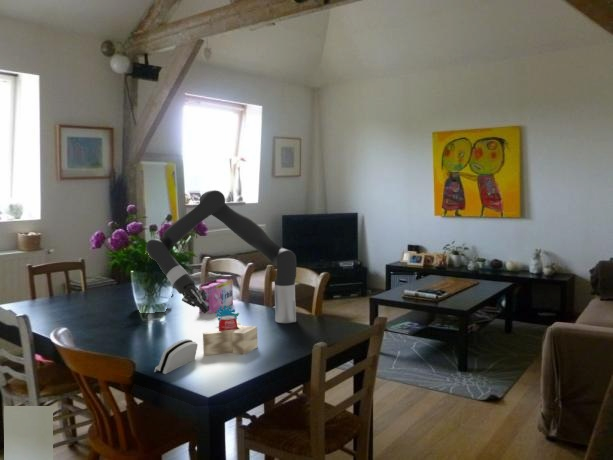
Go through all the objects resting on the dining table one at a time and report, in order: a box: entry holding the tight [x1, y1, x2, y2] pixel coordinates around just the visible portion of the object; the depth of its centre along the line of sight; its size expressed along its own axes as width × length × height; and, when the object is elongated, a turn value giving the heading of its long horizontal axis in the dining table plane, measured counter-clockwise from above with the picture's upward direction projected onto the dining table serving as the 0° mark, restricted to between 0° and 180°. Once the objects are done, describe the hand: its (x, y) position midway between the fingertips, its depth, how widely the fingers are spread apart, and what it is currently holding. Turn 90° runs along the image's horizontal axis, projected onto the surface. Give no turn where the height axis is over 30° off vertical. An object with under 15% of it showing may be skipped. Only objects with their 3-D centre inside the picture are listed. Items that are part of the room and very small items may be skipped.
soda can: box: [218, 315, 238, 331], centre depth 209 cm, size 7×7×12 cm
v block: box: [202, 319, 259, 356], centre depth 208 cm, size 15×23×8 cm, turn 156°
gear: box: [215, 305, 240, 322], centre depth 247 cm, size 11×6×10 cm
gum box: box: [198, 277, 234, 314], centre depth 275 cm, size 24×8×14 cm, turn 162°
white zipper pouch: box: [153, 338, 198, 375], centre depth 189 cm, size 17×5×10 cm, turn 155°
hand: (207, 311), depth 212 cm, fingers closed
